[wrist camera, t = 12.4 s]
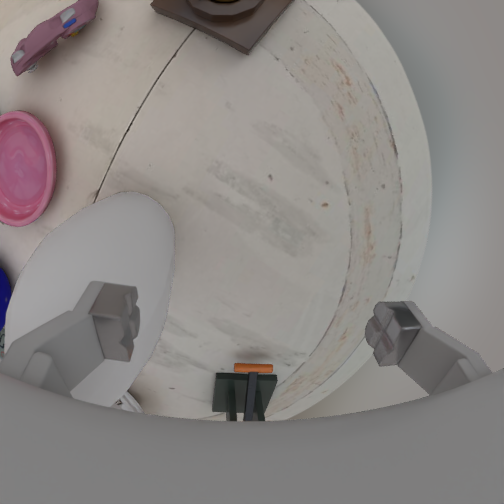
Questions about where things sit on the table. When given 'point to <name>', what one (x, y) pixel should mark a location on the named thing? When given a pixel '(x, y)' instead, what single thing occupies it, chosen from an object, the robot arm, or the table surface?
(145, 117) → the table surface
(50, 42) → the video game controller
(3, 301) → the ornament
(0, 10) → the table surface
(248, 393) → the switch lever
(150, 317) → the bottle
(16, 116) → the saucer
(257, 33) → the button block
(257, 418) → the switch bracket
